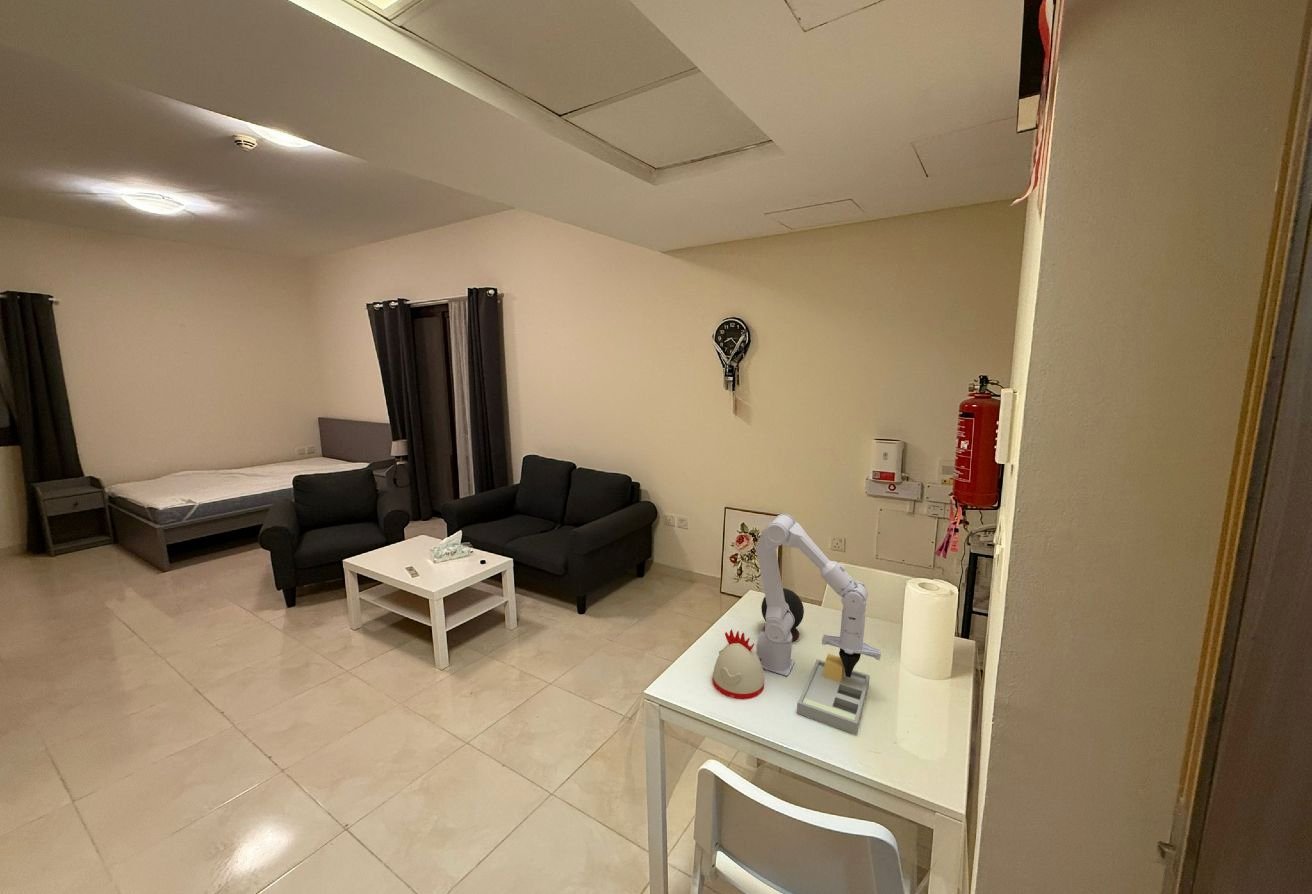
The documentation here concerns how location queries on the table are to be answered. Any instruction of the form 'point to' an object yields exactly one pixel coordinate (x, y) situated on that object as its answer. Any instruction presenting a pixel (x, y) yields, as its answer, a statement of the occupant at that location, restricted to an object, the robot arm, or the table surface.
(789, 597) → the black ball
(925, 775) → the table surface
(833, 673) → the block
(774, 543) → the robot arm
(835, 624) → the table surface
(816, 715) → the box
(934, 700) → the table surface
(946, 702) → the table surface
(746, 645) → the kitchen timer
